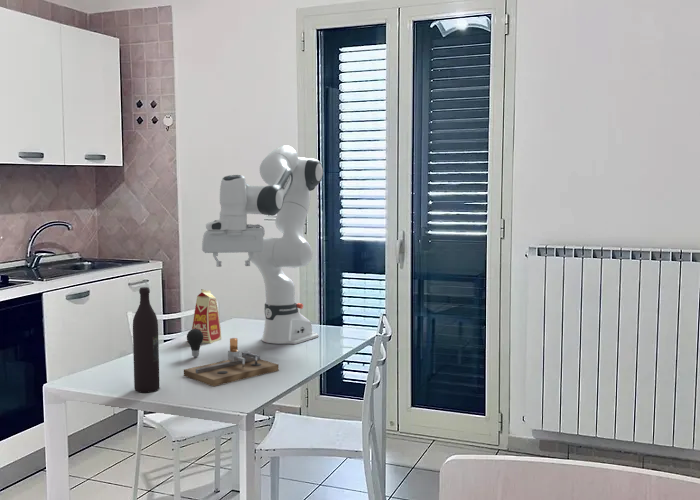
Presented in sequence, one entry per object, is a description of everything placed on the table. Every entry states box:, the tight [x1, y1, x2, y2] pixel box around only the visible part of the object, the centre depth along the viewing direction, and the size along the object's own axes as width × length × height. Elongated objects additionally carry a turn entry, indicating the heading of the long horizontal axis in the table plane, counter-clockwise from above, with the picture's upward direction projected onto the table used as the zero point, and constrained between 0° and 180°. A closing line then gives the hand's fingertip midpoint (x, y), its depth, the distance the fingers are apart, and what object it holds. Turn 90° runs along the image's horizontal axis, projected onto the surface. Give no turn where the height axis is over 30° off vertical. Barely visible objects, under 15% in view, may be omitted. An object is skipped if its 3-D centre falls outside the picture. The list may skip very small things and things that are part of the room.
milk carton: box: [191, 289, 222, 344], centre depth 271 cm, size 9×9×20 cm
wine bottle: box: [132, 286, 160, 394], centre depth 206 cm, size 7×7×30 cm
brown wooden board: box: [183, 358, 280, 387], centre depth 225 cm, size 25×16×2 cm, turn 136°
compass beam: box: [196, 351, 261, 374], centre depth 225 cm, size 24×6×3 cm, turn 136°
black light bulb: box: [186, 328, 203, 359], centre depth 244 cm, size 6×6×10 cm
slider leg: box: [227, 337, 245, 367], centre depth 226 cm, size 2×7×8 cm, turn 46°
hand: (233, 266), depth 235 cm, fingers open, 8 cm apart
